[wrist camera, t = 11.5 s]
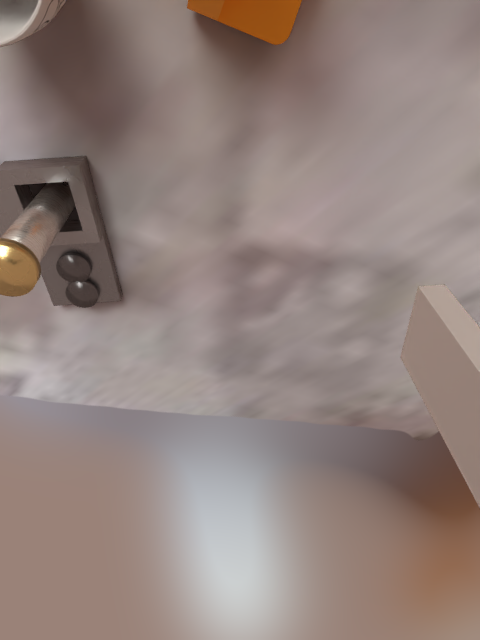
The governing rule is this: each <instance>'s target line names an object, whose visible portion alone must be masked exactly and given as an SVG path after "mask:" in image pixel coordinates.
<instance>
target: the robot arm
mask: <svg viewBox="0 0 480 640" xmlns="http://www.w3.org/2000/svg"><path fill="white" fill-rule="evenodd" d="M401 359H402V361H403V363H404V365H405V367H406V369H407V371H408V373H409V374H410V376H411V378H412V380H413V382H414V384H415V386H416V388H417V390H418V392H419V393H420V395H421V397H422V399H423V401H424V403H425V405H426V407H427V409H428V411H429V412H430V414H431V416H432V418H433V420H434V422H435V424H436V426H437V428H438V430H439V432H440V433H441V435H442V437H443V439H444V441H445V443H446V445H447V447H448V449H449V451H450V452H451V454H452V456H453V458H454V460H455V462H456V464H457V466H458V468H459V470H460V471H461V473H462V475H463V477H464V479H465V481H466V483H467V485H468V487H469V489H470V491H471V492H472V494H473V496H474V498H475V500H476V502H477V504H478V506H479V508H480V328H479V326H478V325H477V324H476V323H475V321H474V320H473V319H472V318H471V316H470V315H469V314H468V313H467V312H466V310H465V309H464V308H463V307H462V305H461V304H460V303H459V302H458V300H457V299H456V298H455V297H454V295H453V294H452V293H451V292H450V291H449V289H448V288H447V287H446V286H445V285H432V286H418V289H417V293H416V297H415V301H414V305H413V309H412V313H411V317H410V321H409V325H408V329H407V333H406V337H405V341H404V345H403V349H402V353H401Z"/></svg>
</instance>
